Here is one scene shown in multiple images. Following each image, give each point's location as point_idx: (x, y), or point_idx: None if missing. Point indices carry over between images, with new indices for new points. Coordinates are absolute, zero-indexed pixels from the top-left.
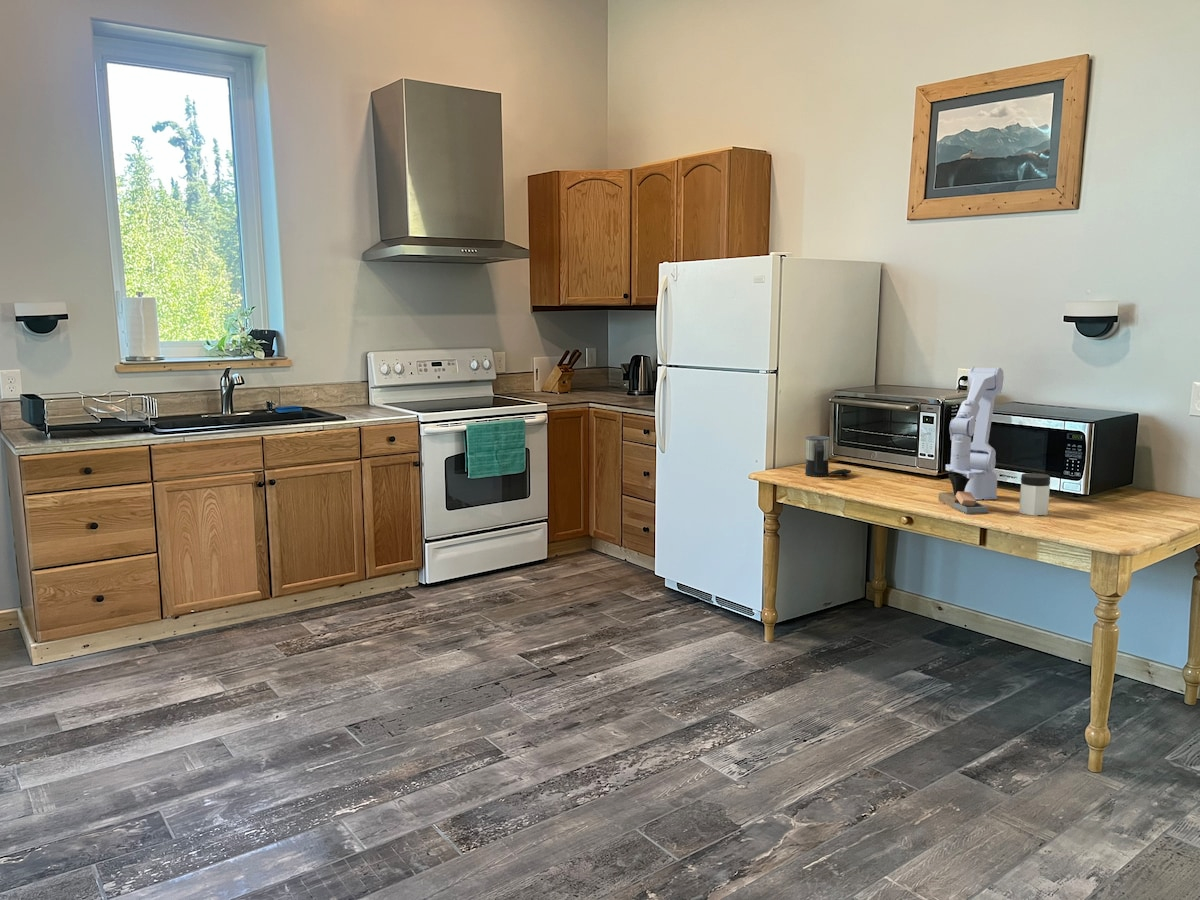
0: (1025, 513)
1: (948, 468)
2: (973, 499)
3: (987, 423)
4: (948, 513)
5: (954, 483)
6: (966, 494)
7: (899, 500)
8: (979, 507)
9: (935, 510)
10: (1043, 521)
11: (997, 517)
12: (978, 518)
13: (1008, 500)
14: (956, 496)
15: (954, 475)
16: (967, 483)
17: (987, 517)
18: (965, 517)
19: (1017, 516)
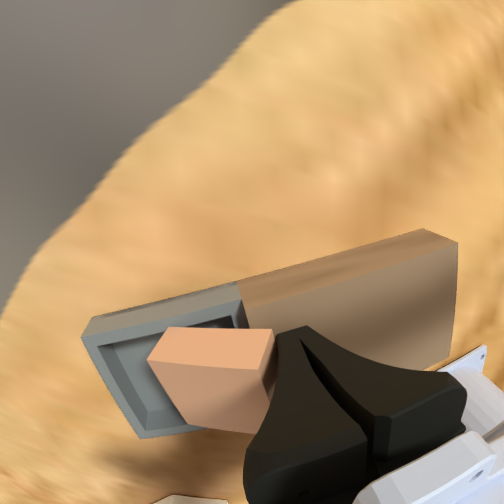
0: (158, 502)
1: (467, 482)
2: (194, 417)
3: None
4: (95, 212)
5: (309, 390)
6: (235, 407)
7: (434, 24)
8: (118, 404)
9: (176, 139)
10: (76, 501)
11: (73, 423)
12: (23, 346)
13: None
14: (254, 334)
15: (327, 469)
16: (484, 406)
17: (57, 390)
18: (21, 290)
19: (119, 478)
